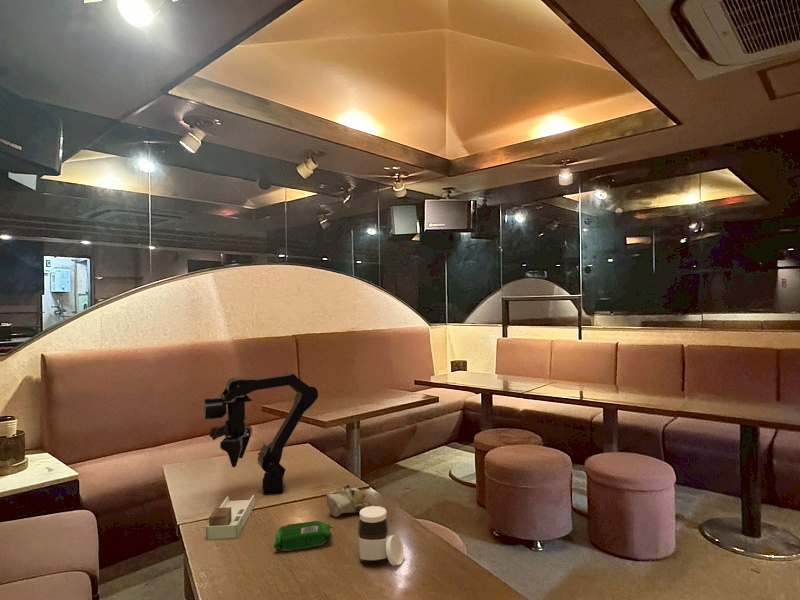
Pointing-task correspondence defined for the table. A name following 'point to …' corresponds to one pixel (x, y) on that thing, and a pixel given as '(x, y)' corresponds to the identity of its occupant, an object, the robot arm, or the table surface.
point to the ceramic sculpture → (346, 501)
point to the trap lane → (238, 516)
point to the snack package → (302, 535)
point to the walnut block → (220, 517)
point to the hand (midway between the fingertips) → (237, 462)
